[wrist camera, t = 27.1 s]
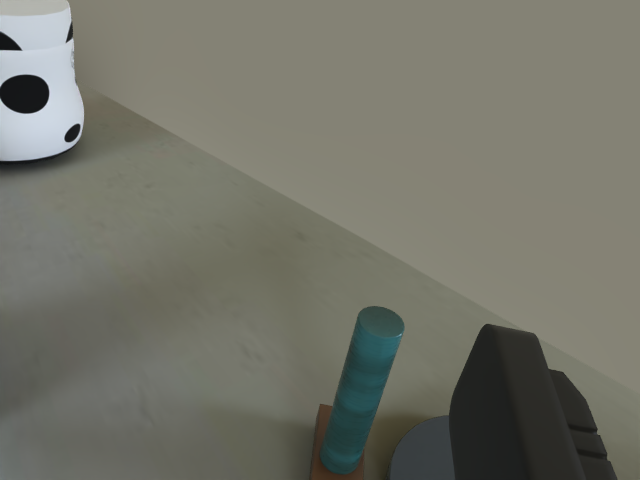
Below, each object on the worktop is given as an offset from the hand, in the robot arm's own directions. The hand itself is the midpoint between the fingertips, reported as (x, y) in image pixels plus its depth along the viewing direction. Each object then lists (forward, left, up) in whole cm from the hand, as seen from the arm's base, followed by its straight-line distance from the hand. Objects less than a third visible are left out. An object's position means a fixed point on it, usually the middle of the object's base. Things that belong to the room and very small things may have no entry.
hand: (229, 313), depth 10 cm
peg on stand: (-14, +15, -30) cm, 36 cm away
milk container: (-70, -4, -30) cm, 77 cm away
